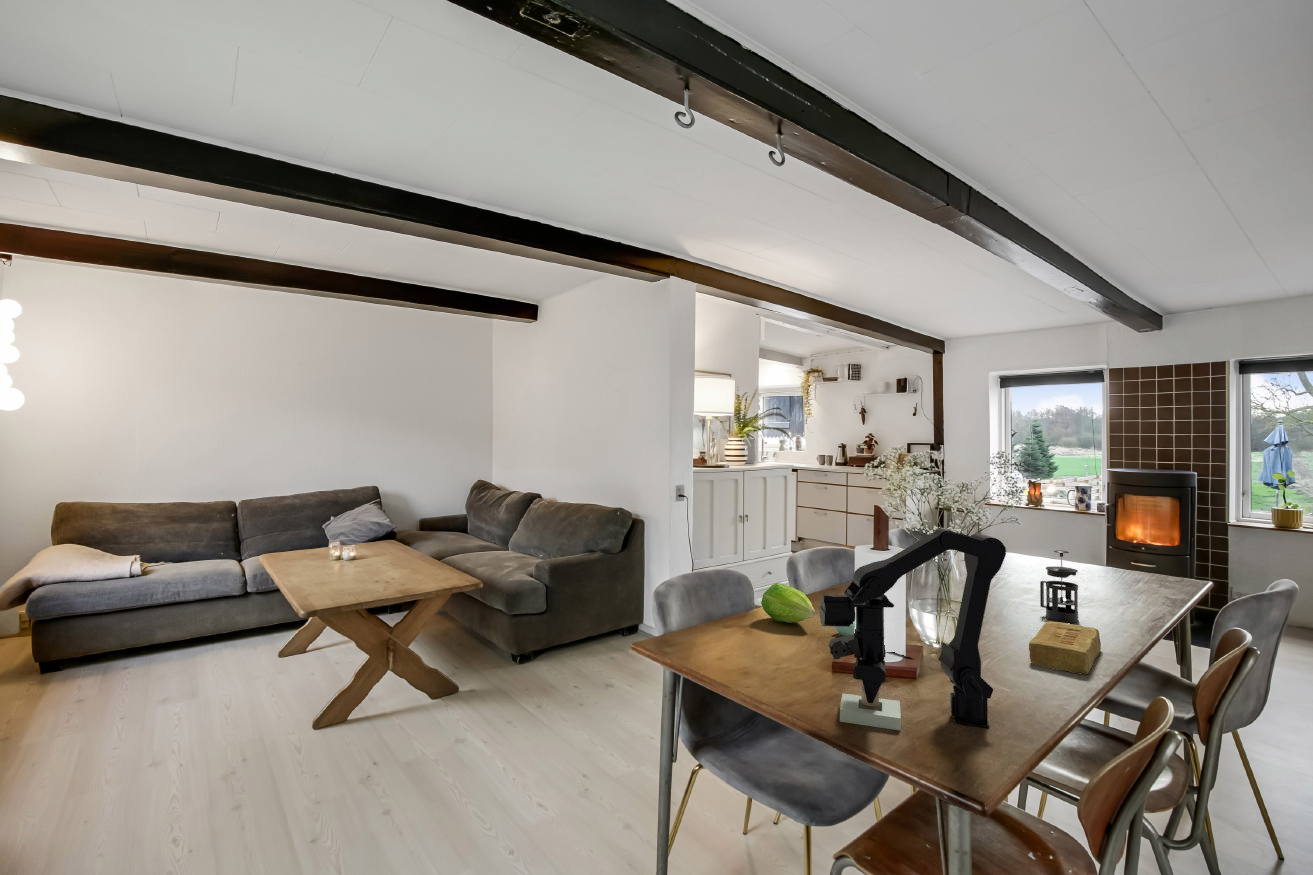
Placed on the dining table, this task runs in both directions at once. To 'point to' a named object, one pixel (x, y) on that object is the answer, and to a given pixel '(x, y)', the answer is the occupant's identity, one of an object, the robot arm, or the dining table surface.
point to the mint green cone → (846, 630)
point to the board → (870, 713)
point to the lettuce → (786, 604)
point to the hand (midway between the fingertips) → (870, 699)
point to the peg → (864, 700)
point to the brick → (1065, 647)
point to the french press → (1055, 611)
